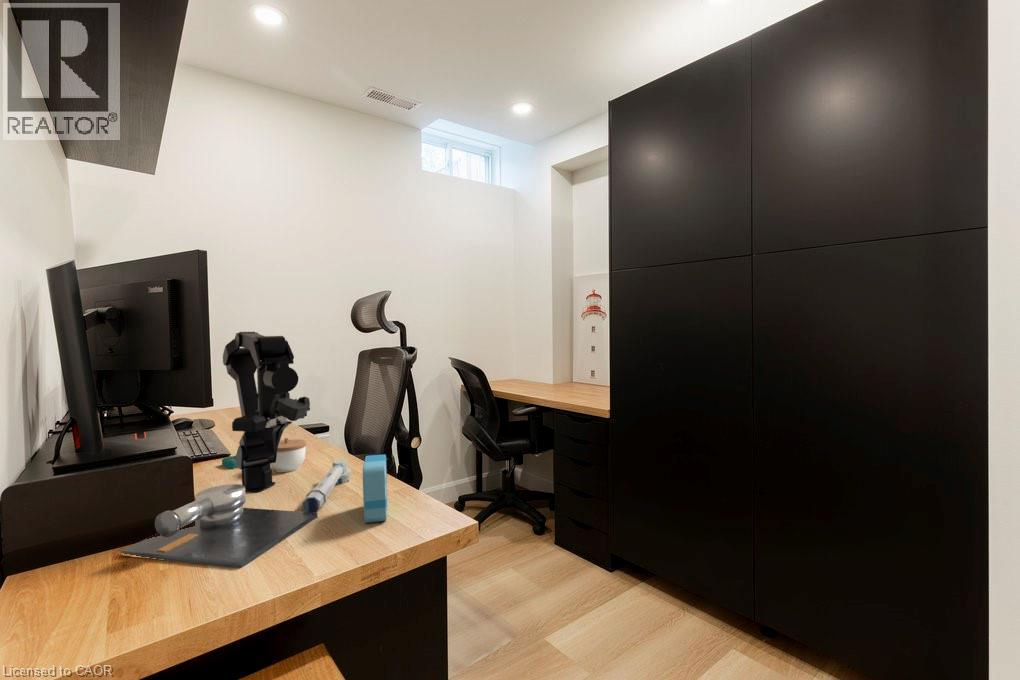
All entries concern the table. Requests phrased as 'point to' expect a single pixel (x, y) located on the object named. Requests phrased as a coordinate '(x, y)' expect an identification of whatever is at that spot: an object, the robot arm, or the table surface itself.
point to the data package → (375, 488)
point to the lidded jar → (289, 455)
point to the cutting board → (225, 537)
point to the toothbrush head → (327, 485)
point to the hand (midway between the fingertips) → (273, 452)
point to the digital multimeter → (229, 462)
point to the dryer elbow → (201, 508)
